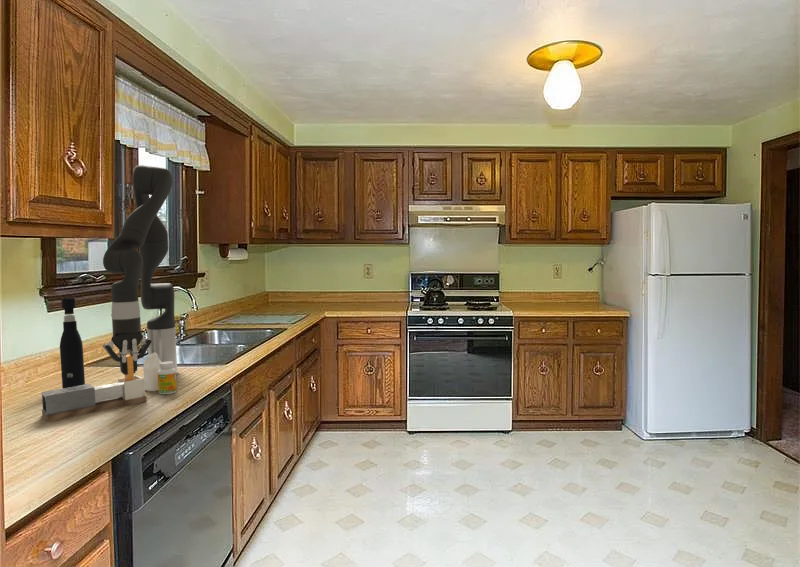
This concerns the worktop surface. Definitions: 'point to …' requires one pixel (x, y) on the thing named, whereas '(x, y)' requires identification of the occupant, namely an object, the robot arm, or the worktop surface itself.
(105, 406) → the board
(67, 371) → the black bottle
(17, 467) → the worktop surface
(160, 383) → the supplement bottle
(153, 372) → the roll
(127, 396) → the socket
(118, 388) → the slide bolt
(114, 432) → the worktop surface
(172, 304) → the robot arm
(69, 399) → the grey rectangular box
